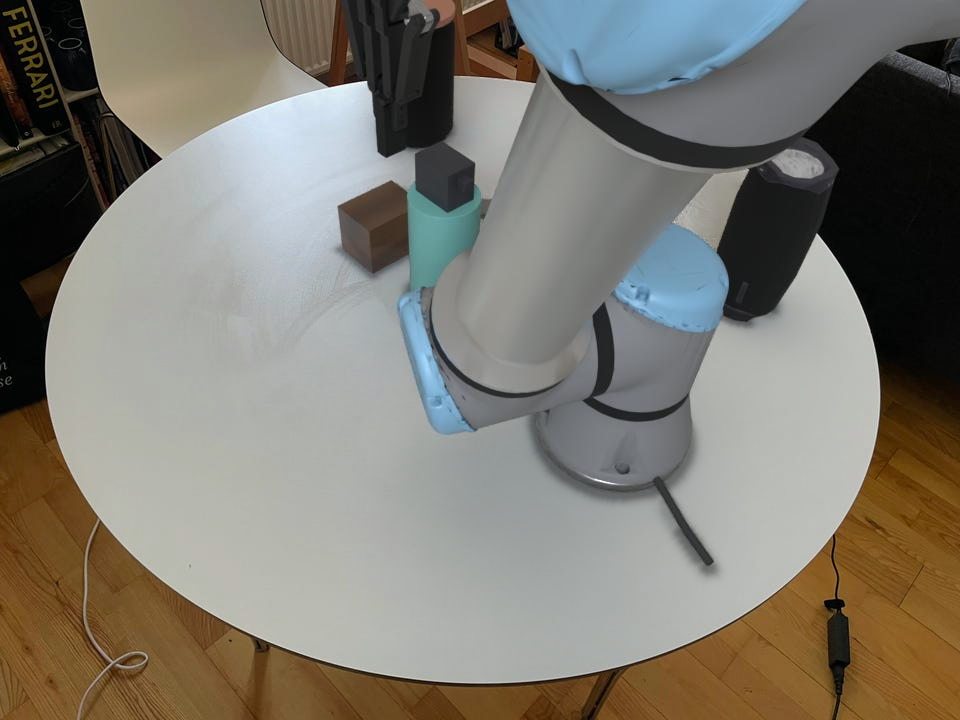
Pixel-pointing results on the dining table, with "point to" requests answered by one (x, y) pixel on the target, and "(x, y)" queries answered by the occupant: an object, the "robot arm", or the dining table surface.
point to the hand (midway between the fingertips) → (391, 150)
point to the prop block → (376, 226)
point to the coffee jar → (435, 84)
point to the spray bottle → (441, 212)
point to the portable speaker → (774, 227)
